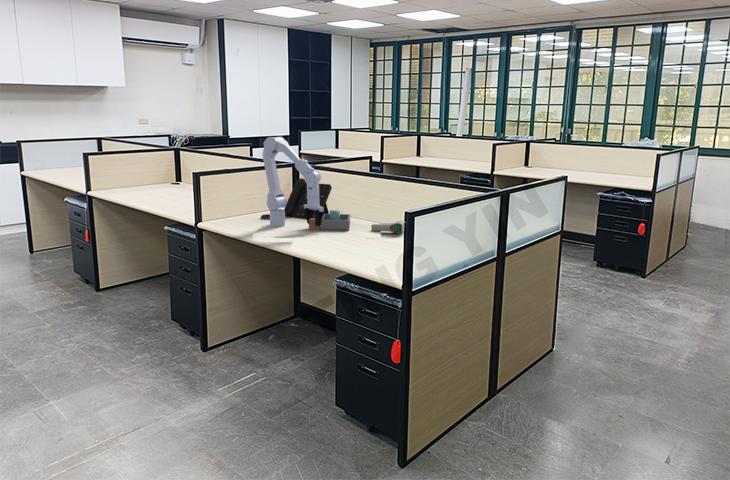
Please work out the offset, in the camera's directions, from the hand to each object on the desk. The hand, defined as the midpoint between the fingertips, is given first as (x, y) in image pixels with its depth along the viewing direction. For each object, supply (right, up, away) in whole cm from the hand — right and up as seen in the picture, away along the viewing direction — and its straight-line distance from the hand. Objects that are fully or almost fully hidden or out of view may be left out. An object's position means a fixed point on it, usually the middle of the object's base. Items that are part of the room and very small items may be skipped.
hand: (314, 224), depth 263 cm
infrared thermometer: (+29, -1, +3) cm, 29 cm away
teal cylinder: (+10, 0, +9) cm, 13 cm away
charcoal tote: (+10, -1, +7) cm, 12 cm away
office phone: (-13, +5, +33) cm, 36 cm away
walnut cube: (0, -2, +1) cm, 2 cm away
